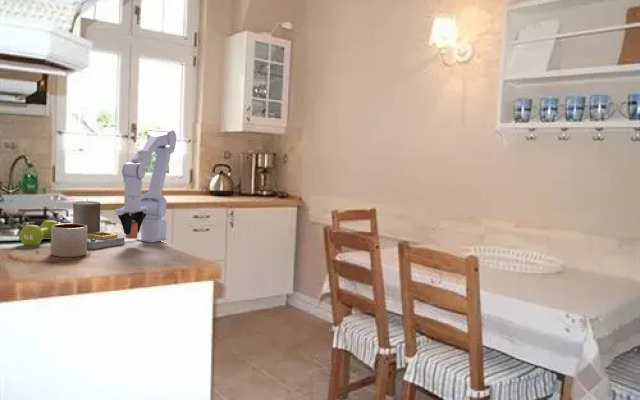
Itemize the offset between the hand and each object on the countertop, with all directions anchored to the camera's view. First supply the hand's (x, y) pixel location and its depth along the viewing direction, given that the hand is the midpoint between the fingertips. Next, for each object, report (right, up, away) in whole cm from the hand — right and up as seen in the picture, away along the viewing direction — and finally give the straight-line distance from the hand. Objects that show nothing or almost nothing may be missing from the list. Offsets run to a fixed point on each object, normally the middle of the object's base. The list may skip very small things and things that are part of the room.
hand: (131, 233), depth 199 cm
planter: (-14, -6, -19) cm, 24 cm away
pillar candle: (-21, -3, +12) cm, 25 cm away
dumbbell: (-32, -4, -2) cm, 32 cm away
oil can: (0, -2, 0) cm, 2 cm away
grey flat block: (-13, -4, -1) cm, 14 cm away
